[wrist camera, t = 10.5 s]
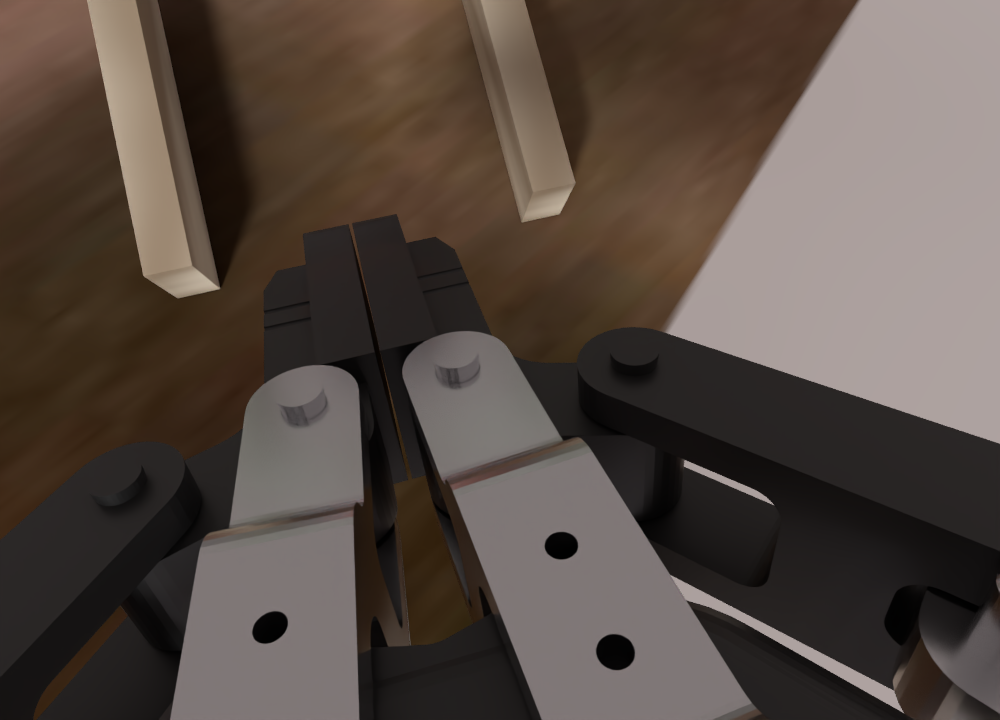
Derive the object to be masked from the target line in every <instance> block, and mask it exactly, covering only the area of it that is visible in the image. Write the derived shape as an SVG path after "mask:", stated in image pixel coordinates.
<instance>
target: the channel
mask: <svg viewBox="0 0 1000 720" xmlns="http://www.w3.org/2000/svg"><path fill="white" fill-rule="evenodd" d="M87 2H88V7H89V12H90V17H91V22H92V27H93V31H94V36H95V41H96V46H97V51H98V56H99V61H100V66H101V71H102V75H103V80H104V85H105V90H106V95H107V100H108V105H109V110H110V115H111V119H112V124H113V129H114V134H115V139H116V144H117V149H118V154H119V158H120V163H121V168H122V173H123V178H124V183H125V188H126V193H127V198H128V202H129V207H130V212H131V217H132V222H133V227H134V232H135V237H136V242H137V246H138V251H139V256H140V261H141V266H142V271H143V276H144V277H146V278H147V279H149V280H150V281H152V282H153V283H155V284H156V285H158V286H160V287H161V288H163V289H164V290H166V291H167V292H169V293H170V294H172V295H173V296H175V297H176V298H181V297H186V296H190V295H195V294H199V293H204V292H208V291H213V290H217V289H220V285H219V281H218V276H217V272H216V267H215V262H214V258H213V253H212V249H211V244H210V239H209V235H208V230H207V226H206V221H205V216H204V212H203V207H202V202H201V198H200V193H199V189H198V184H197V179H196V175H195V170H194V166H193V161H192V156H191V152H190V147H189V142H188V138H187V133H186V129H185V124H184V119H183V115H182V110H181V106H180V101H179V96H178V92H177V87H176V82H175V78H174V73H173V69H172V64H171V59H170V55H169V50H168V46H167V41H166V36H165V32H164V27H163V22H162V18H161V13H160V9H159V4H158V0H87ZM462 2H463V6H464V10H465V13H466V17H467V21H468V25H469V28H470V32H471V36H472V40H473V43H474V47H475V51H476V54H477V58H478V62H479V66H480V69H481V73H482V77H483V81H484V84H485V88H486V92H487V95H488V99H489V103H490V107H491V110H492V114H493V118H494V122H495V125H496V129H497V133H498V136H499V140H500V144H501V148H502V151H503V155H504V159H505V163H506V166H507V170H508V174H509V177H510V181H511V185H512V189H513V192H514V196H515V200H516V204H517V207H518V211H519V215H520V218H521V222H526V221H531V220H535V219H540V218H544V217H549V216H553V215H558V214H560V212H561V210H562V208H563V206H564V204H565V202H566V201H567V199H568V197H569V195H570V193H571V191H572V189H573V187H574V185H575V179H574V176H573V172H572V169H571V165H570V162H569V158H568V154H567V151H566V147H565V144H564V140H563V136H562V133H561V129H560V126H559V122H558V118H557V115H556V111H555V108H554V104H553V101H552V97H551V93H550V90H549V86H548V83H547V79H546V75H545V72H544V68H543V65H542V61H541V58H540V54H539V50H538V47H537V43H536V40H535V36H534V32H533V29H532V25H531V22H530V18H529V15H528V11H527V7H526V4H525V0H462Z"/></svg>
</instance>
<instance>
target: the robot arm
mask: <svg viewBox="0 0 1000 720" xmlns="http://www.w3.org/2000/svg"><path fill="white" fill-rule="evenodd" d="M352 225H353V229H354V234H355V238H356V243H357V248H358V252H359V257H360V261H361V266H362V270H363V275H364V280H365V284H366V289H367V293H368V298H369V302H370V307H371V311H370V307H369V303H368V299H367V295H366V291H365V287H364V283H363V279H362V275H361V271H360V267H359V263H358V259H357V255H356V252H355V248H354V244H353V240H352V236H351V232H350V228H349V225H348V224H347V225H342V226H338V227H333V228H328V229H323V230H318V231H314V232H309V233H304V234H303V240H304V250H305V260H306V265H302V266H298V267H293V268H288V269H284V270H279V271H277V272H276V273H275V275H274V276H273V278H272V279H271V281H270V282H269V284H268V285H267V287H266V288H265V290H264V313H265V315H264V329H265V331H264V382H265V384H264V385H263V386H261V387H260V388H259V389H258V390H257V391H256V392H255V393H254V395H253V396H252V397H251V399H250V401H249V403H248V405H247V408H246V411H245V418H244V425H243V429H241V430H240V431H239V432H238V433H236V434H235V435H233V436H232V437H230V438H229V439H227V440H225V441H223V442H222V443H220V444H218V445H216V446H214V447H212V448H210V449H208V450H205V451H203V452H201V453H199V454H197V455H195V456H193V457H191V458H189V459H187V460H185V461H184V459H183V457H182V455H181V454H180V453H179V451H178V450H176V449H175V448H173V447H172V446H170V445H167V444H164V443H159V442H139V443H133V444H129V445H125V446H122V447H119V448H116V449H113V450H111V451H109V452H106V453H104V454H102V455H101V456H99V457H97V458H95V459H93V460H92V461H90V462H89V463H87V464H86V465H85V466H83V467H82V468H81V469H80V470H78V471H77V472H76V473H75V474H74V475H73V476H72V477H70V478H69V479H68V480H67V481H66V482H65V483H64V484H63V485H62V486H60V487H59V488H58V489H57V490H56V491H55V492H54V493H53V494H51V495H50V496H49V497H48V498H47V499H46V500H45V501H44V502H43V503H41V504H40V505H39V506H38V507H37V508H36V509H35V510H34V511H33V512H31V513H30V514H29V515H28V516H27V517H26V518H25V519H24V520H22V521H21V522H20V523H19V524H18V525H17V526H16V527H15V528H14V529H12V530H11V531H10V532H9V533H8V534H7V535H6V536H5V537H4V538H2V539H1V540H0V720H33V716H34V712H35V708H36V705H37V703H38V701H39V699H40V697H41V695H42V693H43V692H44V690H45V689H46V688H47V686H48V685H49V684H50V683H51V681H52V680H53V679H54V678H55V677H56V676H57V675H58V674H59V673H60V671H61V670H62V669H63V668H64V667H65V666H66V665H67V664H68V662H69V661H70V660H71V659H72V658H73V657H74V656H75V655H76V654H77V652H78V651H79V650H80V649H81V648H82V647H83V646H84V645H85V644H86V642H87V641H88V640H89V639H90V638H91V637H92V636H93V635H94V634H95V632H96V631H97V630H98V629H99V628H100V627H101V626H102V625H103V624H104V622H105V621H106V620H107V619H108V618H109V617H110V616H111V615H112V614H113V612H114V611H115V610H116V609H117V608H118V607H119V606H121V607H122V608H123V610H124V611H125V612H126V614H127V615H128V617H127V618H126V619H125V620H124V621H123V622H122V623H121V625H120V626H119V627H118V628H117V629H116V630H115V631H114V633H113V634H112V635H111V636H110V637H109V638H108V639H107V641H106V642H105V643H104V644H103V645H102V646H101V647H100V648H99V650H98V651H97V652H96V653H95V654H94V655H93V656H92V658H91V659H90V660H89V661H88V662H87V663H86V664H85V666H84V667H83V668H82V669H81V670H80V671H79V672H78V673H77V675H76V676H75V677H74V678H73V679H72V680H71V681H70V683H69V684H68V685H67V686H66V687H65V688H64V689H63V691H62V692H61V693H60V694H59V695H58V696H57V697H56V698H55V700H54V701H53V702H52V703H51V704H50V705H49V706H48V708H47V709H46V710H45V711H44V712H43V713H42V714H41V716H40V717H39V718H38V719H37V720H1000V444H999V443H996V442H992V441H990V440H987V439H983V438H980V437H977V436H974V435H971V434H968V433H965V432H962V431H959V430H956V429H953V428H950V427H947V426H944V425H941V424H938V423H935V422H932V421H929V420H926V419H923V418H920V417H917V416H914V415H911V414H908V413H905V412H902V411H899V410H896V409H893V408H890V407H887V406H884V405H881V404H878V403H874V402H872V401H869V400H866V399H863V398H860V397H856V396H854V395H850V394H848V393H845V392H842V391H839V390H836V389H833V388H829V387H827V386H824V385H821V384H818V383H814V382H811V381H808V380H805V379H802V378H799V377H796V376H793V375H790V374H787V373H784V372H781V371H778V370H775V369H772V368H769V367H766V366H763V365H760V364H757V363H754V362H751V361H748V360H745V359H742V358H739V357H736V356H733V355H730V354H727V353H724V352H721V351H718V350H715V349H712V348H709V347H706V346H703V345H700V344H697V343H694V342H691V341H688V340H685V339H682V338H679V337H676V336H673V335H670V334H667V333H664V332H661V331H657V330H653V329H647V328H636V327H631V328H620V329H614V330H611V331H607V332H604V333H602V334H600V335H597V336H596V337H594V338H592V339H591V340H590V341H588V342H587V343H586V344H585V345H584V346H583V348H582V349H581V351H580V353H579V355H578V359H577V363H538V362H531V361H527V360H523V359H520V358H517V357H514V356H512V354H511V353H510V351H509V349H508V348H507V347H506V345H505V344H504V343H503V342H501V341H500V340H499V339H497V338H495V337H493V336H492V335H491V333H490V330H489V328H488V326H487V323H486V321H485V319H484V316H483V314H482V312H481V309H480V307H479V305H478V303H477V300H476V298H475V296H474V293H473V291H472V289H471V286H470V285H469V282H468V279H467V277H466V275H465V273H464V270H463V269H462V266H461V263H460V261H459V259H458V256H457V254H456V252H455V249H453V248H451V247H450V246H448V245H447V244H445V243H444V242H442V241H441V240H439V239H438V238H436V237H433V238H428V239H423V240H418V241H414V242H409V243H406V241H405V238H404V235H403V232H402V229H401V226H400V223H399V220H398V217H397V214H395V215H390V216H385V217H380V218H375V219H371V220H366V221H361V222H356V223H352ZM371 312H372V315H371ZM372 316H373V319H372ZM373 321H374V323H373ZM374 325H375V327H374ZM375 330H376V331H375ZM376 335H377V336H376ZM377 339H378V340H377ZM378 344H379V345H378ZM379 348H380V349H379ZM380 353H381V354H380ZM381 357H382V358H381ZM382 360H383V363H382ZM383 364H384V368H385V372H386V376H387V380H388V384H389V388H390V392H391V396H392V400H393V404H394V408H395V412H396V415H397V419H398V423H399V427H400V431H401V435H402V439H403V443H404V447H405V451H406V455H407V459H408V463H409V467H410V471H411V474H412V478H417V477H421V476H424V475H426V478H427V482H428V486H429V490H430V494H431V498H432V502H433V506H434V511H435V515H436V519H437V523H438V526H439V528H440V531H441V534H442V537H443V540H444V543H445V546H446V548H447V551H448V554H449V557H450V560H451V563H452V565H453V568H454V571H455V574H456V577H457V580H458V583H459V585H460V588H461V591H462V594H463V597H464V600H465V602H466V605H467V608H468V611H469V614H470V617H471V620H472V622H473V624H472V625H470V626H468V627H466V628H464V629H463V630H461V631H459V632H457V633H456V634H454V635H452V636H450V637H449V638H447V639H445V640H443V641H441V642H438V643H434V644H429V645H415V646H411V645H410V636H409V626H408V615H407V604H406V593H405V582H404V572H403V561H402V550H401V539H400V530H399V526H398V522H397V519H396V515H397V501H396V496H395V491H394V485H393V484H395V483H399V482H402V481H406V480H408V478H407V473H406V469H405V464H404V459H403V455H402V450H401V446H400V441H399V436H398V432H397V427H396V423H395V418H394V414H393V409H392V404H391V400H390V395H389V391H388V386H387V381H386V377H385V372H384V368H383ZM684 460H687V461H689V462H691V463H694V464H696V465H698V466H701V467H703V468H705V469H708V470H710V471H712V472H715V473H717V474H720V475H722V476H724V477H727V478H729V479H731V480H734V481H736V482H738V483H741V484H743V485H745V486H748V487H750V488H752V489H755V490H757V491H758V492H760V493H762V494H763V495H764V496H766V497H767V498H768V499H769V500H770V501H771V502H772V503H773V504H774V505H775V506H774V505H772V504H769V503H767V502H765V501H762V500H760V499H757V498H755V497H753V496H751V495H748V494H746V493H744V492H741V491H739V490H737V489H734V488H732V487H730V486H728V485H725V484H723V483H720V482H718V481H716V480H714V479H711V478H709V477H707V476H704V475H702V474H700V473H697V472H695V471H693V470H690V469H688V468H686V467H684ZM670 575H672V576H674V577H676V578H678V579H680V580H682V581H684V582H685V583H688V584H689V585H691V586H693V587H695V588H697V589H699V590H701V591H703V592H705V593H707V594H709V595H711V596H712V597H714V598H716V599H718V600H720V601H722V602H724V603H726V604H728V605H730V606H732V607H734V608H736V609H738V610H740V611H741V612H743V613H745V614H747V615H749V616H751V617H753V618H755V619H757V620H759V621H761V622H763V623H765V624H767V625H769V626H770V627H772V628H774V629H776V630H778V631H780V632H782V633H784V634H786V635H788V636H790V637H792V638H794V639H796V640H797V641H799V642H801V643H803V644H805V645H807V646H809V647H811V648H813V649H815V650H817V651H819V652H821V653H823V654H825V655H826V656H828V657H830V658H832V659H835V660H836V661H838V662H840V663H842V664H844V665H846V666H848V667H850V668H852V669H853V670H856V671H857V672H859V673H861V674H863V675H865V676H867V677H869V678H871V679H873V680H875V681H877V682H879V683H880V684H882V685H884V686H886V687H888V688H890V689H892V690H894V691H895V694H896V697H897V700H898V703H899V705H900V706H901V708H902V710H903V712H904V713H902V712H900V711H899V710H897V709H895V708H893V707H892V706H890V705H888V704H886V703H884V702H883V701H881V700H879V699H877V698H876V697H874V696H872V695H870V694H868V693H867V692H865V691H863V690H861V689H860V688H858V687H856V686H854V685H852V684H851V683H849V682H847V681H845V680H844V679H842V678H840V677H838V676H837V675H835V674H833V673H831V672H830V671H828V670H826V669H824V668H822V667H820V666H819V665H817V664H815V663H814V662H812V661H810V660H808V659H806V658H805V657H803V656H801V655H799V654H798V653H796V652H794V651H792V650H791V649H789V648H787V647H785V646H783V645H782V644H780V643H778V642H776V641H775V640H773V639H771V638H769V637H768V636H766V635H764V634H762V633H760V632H759V631H757V630H755V629H753V628H752V627H750V626H748V625H746V624H744V623H743V622H741V621H739V620H737V619H735V618H733V617H731V616H729V615H726V614H724V613H721V612H719V611H716V610H714V609H712V608H709V607H706V606H703V605H700V604H696V603H693V602H689V601H686V600H685V598H684V596H683V595H682V593H681V592H680V590H679V588H678V587H677V585H676V584H675V582H674V581H673V579H672V578H671V576H670Z"/></svg>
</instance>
